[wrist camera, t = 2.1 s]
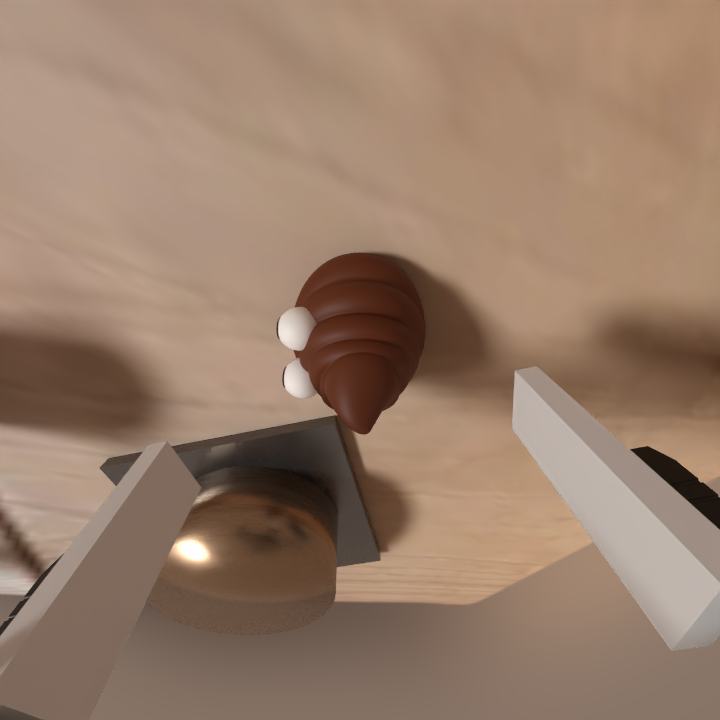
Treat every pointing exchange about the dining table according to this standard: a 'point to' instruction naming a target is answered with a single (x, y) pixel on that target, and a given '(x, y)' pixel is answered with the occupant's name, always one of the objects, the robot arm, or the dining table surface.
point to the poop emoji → (354, 337)
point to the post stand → (262, 529)
